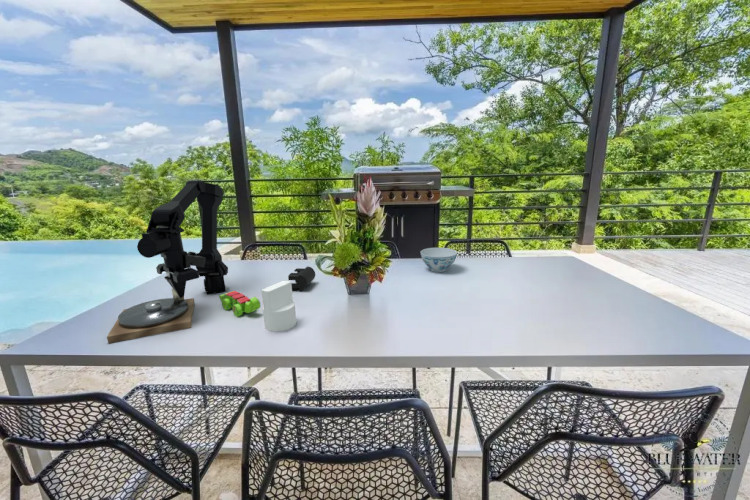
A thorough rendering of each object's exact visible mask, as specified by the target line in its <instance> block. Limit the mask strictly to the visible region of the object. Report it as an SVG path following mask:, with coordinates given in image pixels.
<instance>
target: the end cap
mask: <svg viewBox="0 0 750 500" xmlns="http://www.w3.org/2000/svg"><path fill="white" fill-rule="evenodd" d="M287 278H288V280H287V281H294V282H291V285H292V292H302V291H304V290H305V289H307V287H308V286H309V285H310V284H311V283H312V282H313V280H315V278H316V271H315V270H314V268H313V267H311V266H306V267H305V268H298V267H297V268H295V269H294V272H290V273H289V274H288V275H287Z"/></svg>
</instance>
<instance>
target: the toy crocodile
mask: <svg viewBox="0 0 750 500" xmlns="http://www.w3.org/2000/svg"><path fill="white" fill-rule="evenodd" d="M218 299H219V300H220V302H221V305H222V308H223V310H225V311H228V310H230V309H232V312H233V314H234V316H235V317H237V318H238V317H240V316H243V313H246V314H250V313H252V312H254V311H257V310H259V309H260V308H261V302H260V300H259V298H258V297H256V296H253V297H251V298H249V297H248V296H246V295H245V294H243V293H242V292H239V291H236V290H233V291H230V292H226V293H223V294H220V295H219V296H218Z"/></svg>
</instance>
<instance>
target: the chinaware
mask: <svg viewBox="0 0 750 500" xmlns="http://www.w3.org/2000/svg"><path fill="white" fill-rule="evenodd" d="M457 255H458V251H456V250H455V249H452V248H447V247H427V248H424V249H422V250H420V256H421V260H422V261H423V263H424V264H425V265H426V267H428V268H430V271H431V272H435V273H443V272H446V271H447V269H448V268H450V267H451V266H452V265H453V264H454V263H455V261H456V260H457Z"/></svg>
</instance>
